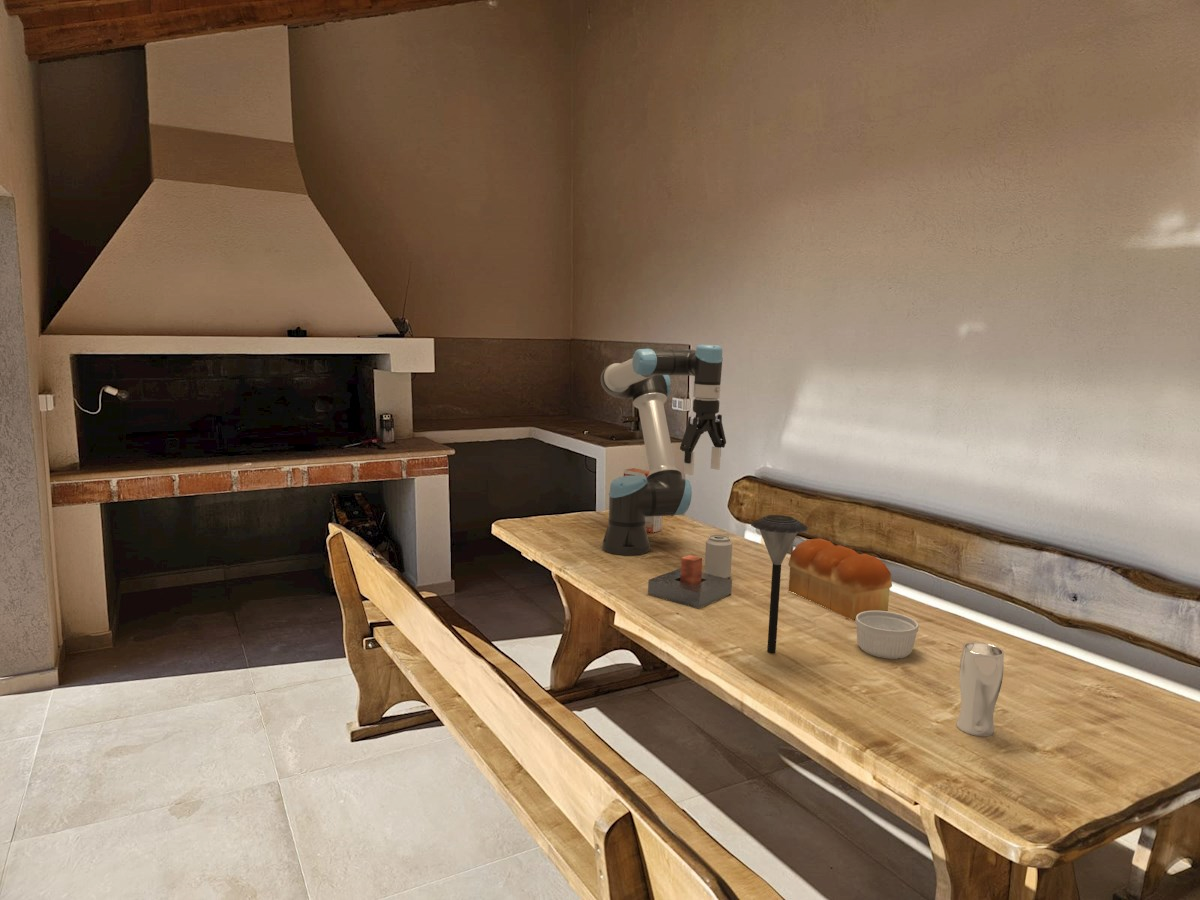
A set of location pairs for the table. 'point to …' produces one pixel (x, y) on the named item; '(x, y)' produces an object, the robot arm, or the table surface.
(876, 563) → the bread
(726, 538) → the can
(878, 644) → the ramekin
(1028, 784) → the table surface
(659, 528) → the cracker box
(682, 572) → the peg
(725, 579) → the socket block
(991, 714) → the beer glass
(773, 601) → the solar garden light
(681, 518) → the table surface
